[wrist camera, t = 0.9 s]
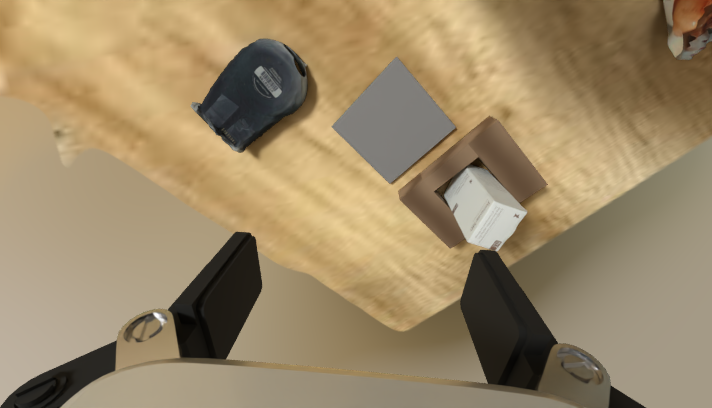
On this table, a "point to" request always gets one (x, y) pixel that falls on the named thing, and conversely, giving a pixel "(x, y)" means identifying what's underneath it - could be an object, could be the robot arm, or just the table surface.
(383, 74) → the grey rubber mat
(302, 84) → the electronic device
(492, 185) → the skincare box
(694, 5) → the lucky cat figurine
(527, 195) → the walnut socket block
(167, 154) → the table surface
